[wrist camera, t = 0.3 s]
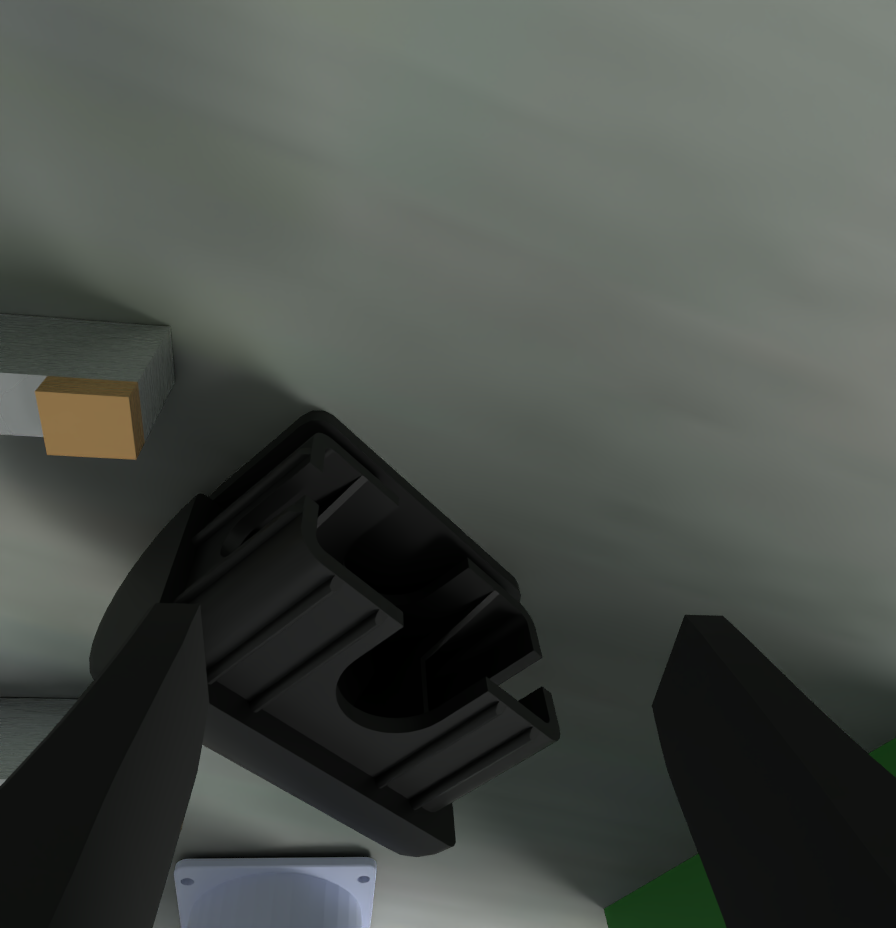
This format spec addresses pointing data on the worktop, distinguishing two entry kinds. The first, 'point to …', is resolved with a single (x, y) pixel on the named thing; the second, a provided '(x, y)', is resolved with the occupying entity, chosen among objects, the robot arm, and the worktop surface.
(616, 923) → the green box
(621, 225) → the worktop surface
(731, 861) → the robot arm
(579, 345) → the worktop surface
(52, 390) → the motor housing with clip cradle
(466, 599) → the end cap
